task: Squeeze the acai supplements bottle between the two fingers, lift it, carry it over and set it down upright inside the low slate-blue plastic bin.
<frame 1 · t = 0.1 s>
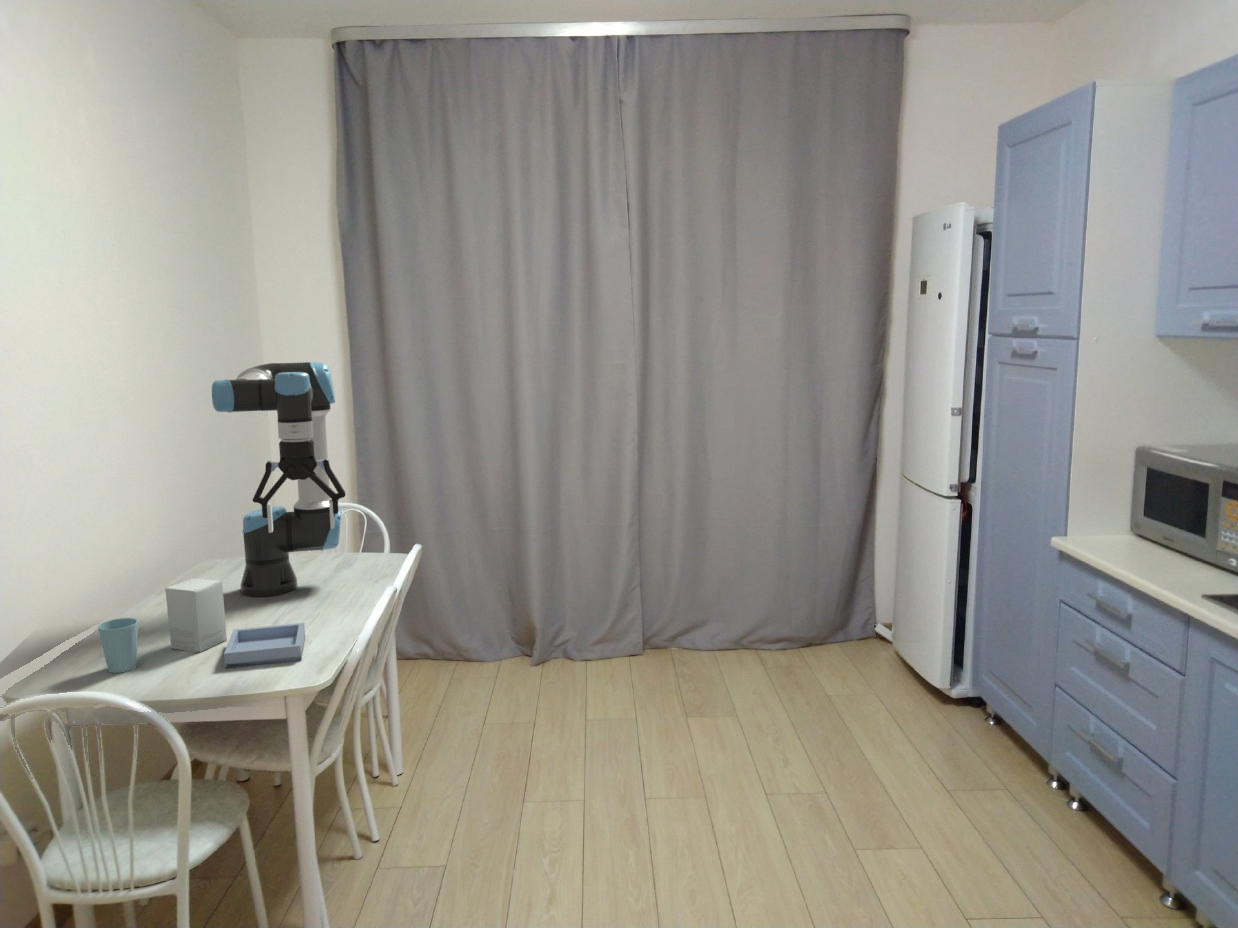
hand: (302, 529, 205), 28 cm above the table, fingers open, 13 cm apart
bin: (267, 651, 204), on the table
cup: (122, 669, 195), on the table
supplement box: (199, 645, 209), on the table
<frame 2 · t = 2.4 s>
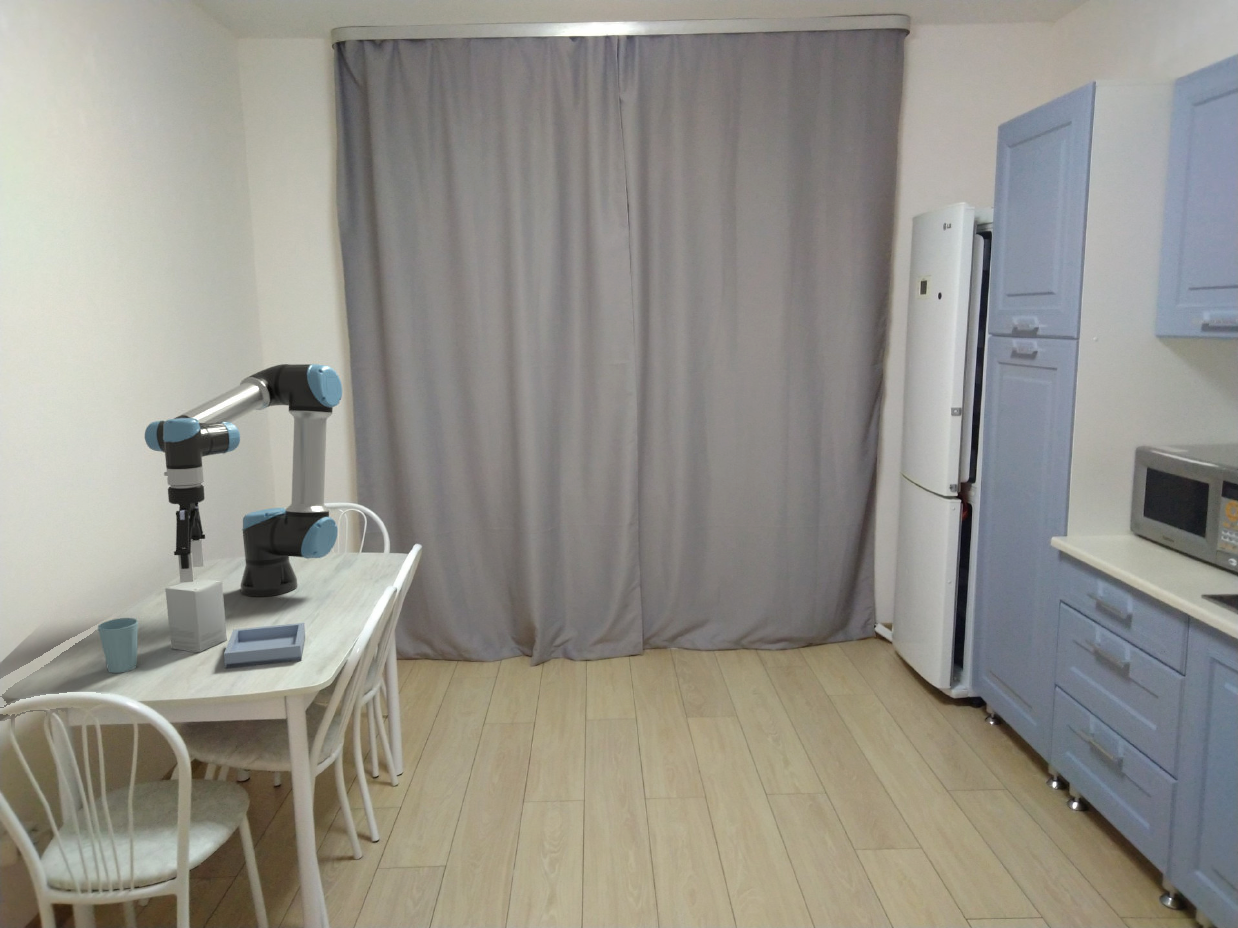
hand: (192, 574, 206), 17 cm above the table, fingers open, 13 cm apart
nothing on the table moved.
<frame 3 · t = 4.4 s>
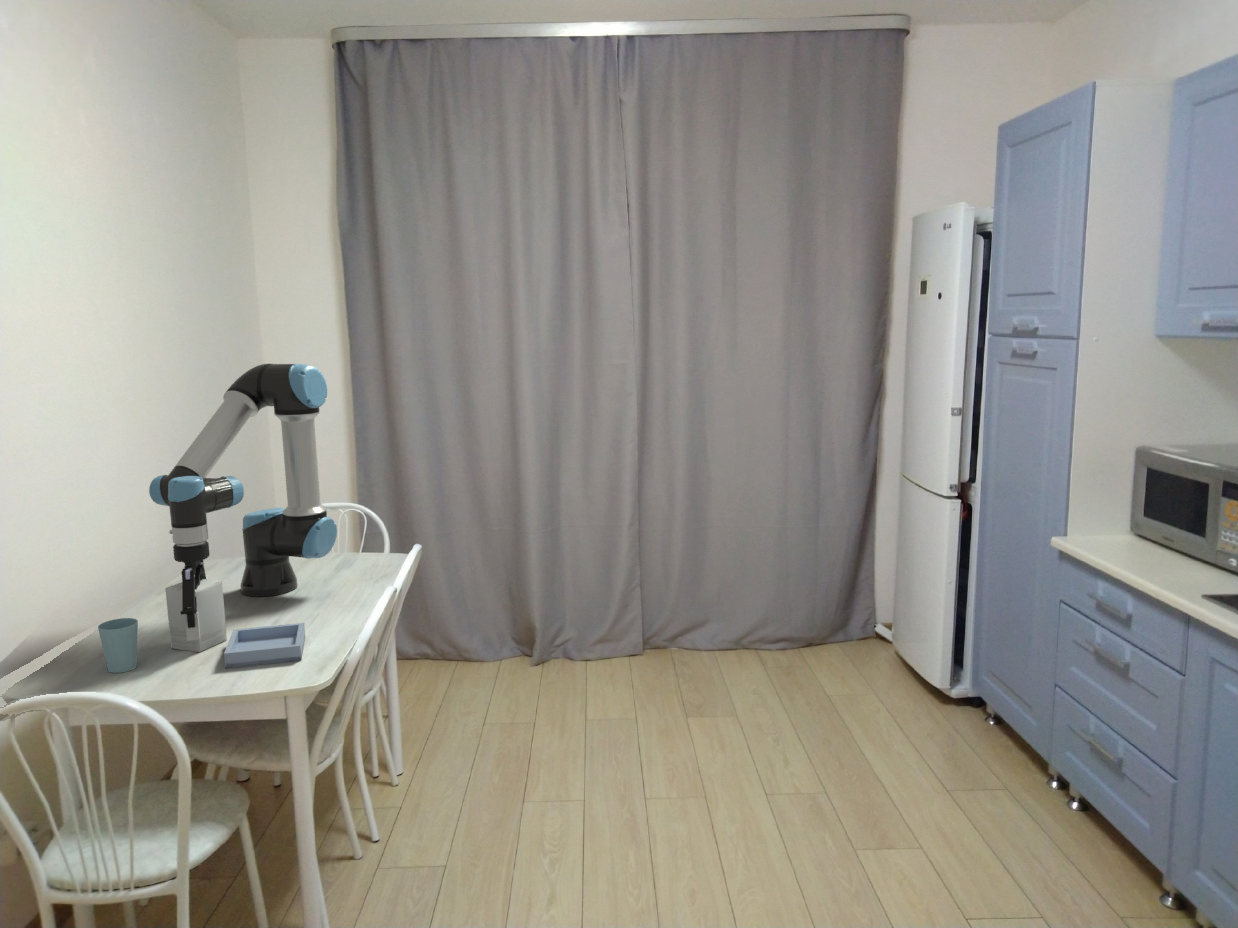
hand: (198, 630, 209), 3 cm above the table, fingers closed on supplement box, 12 cm apart
supplement box: (199, 644, 209), on the table, touching gripper
everything else where it was.
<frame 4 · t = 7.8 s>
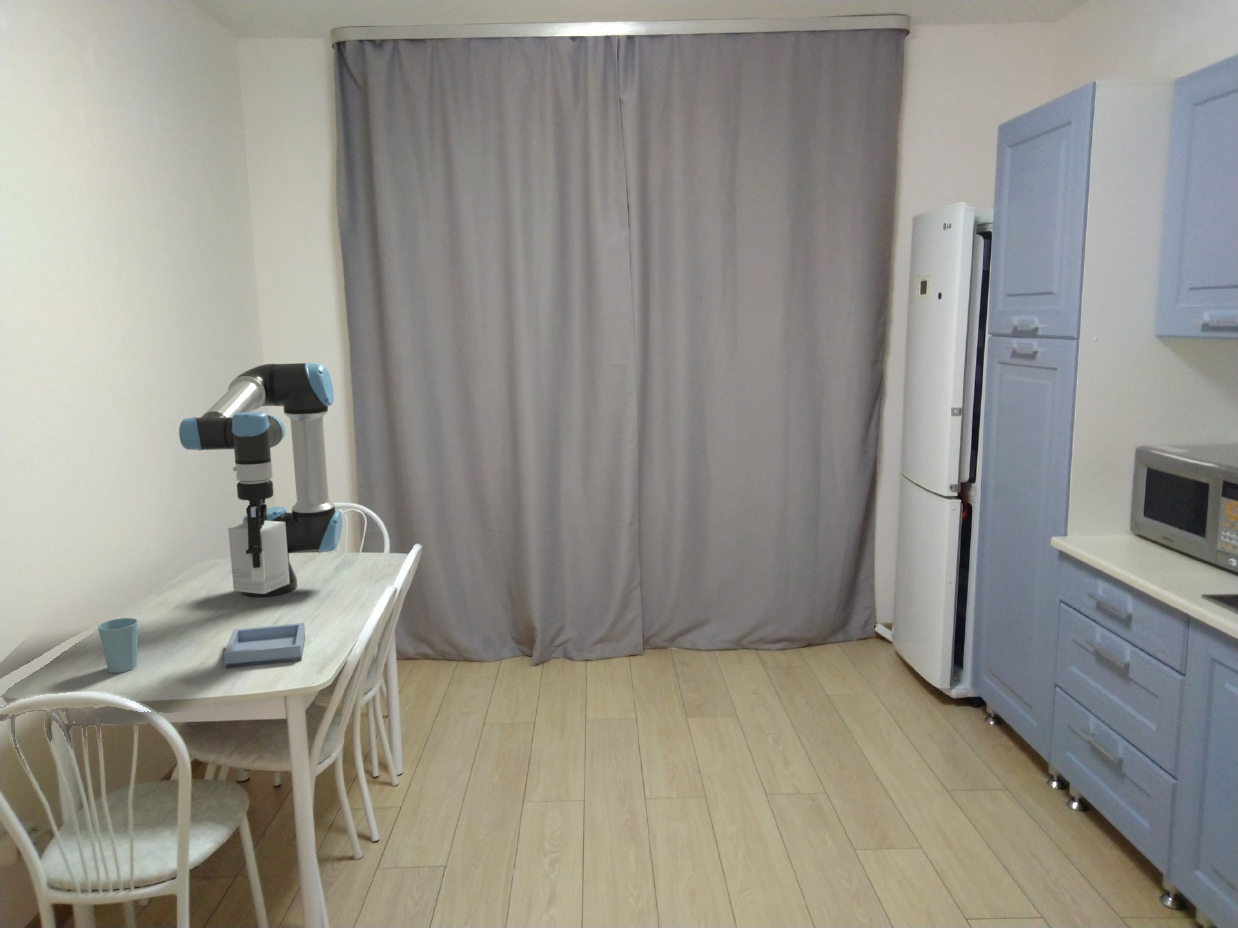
hand: (261, 573, 201), 19 cm above the table, fingers closed on supplement box, 12 cm apart
supplement box: (262, 588, 202), point 15 cm above the table, touching gripper
everything else where it was.
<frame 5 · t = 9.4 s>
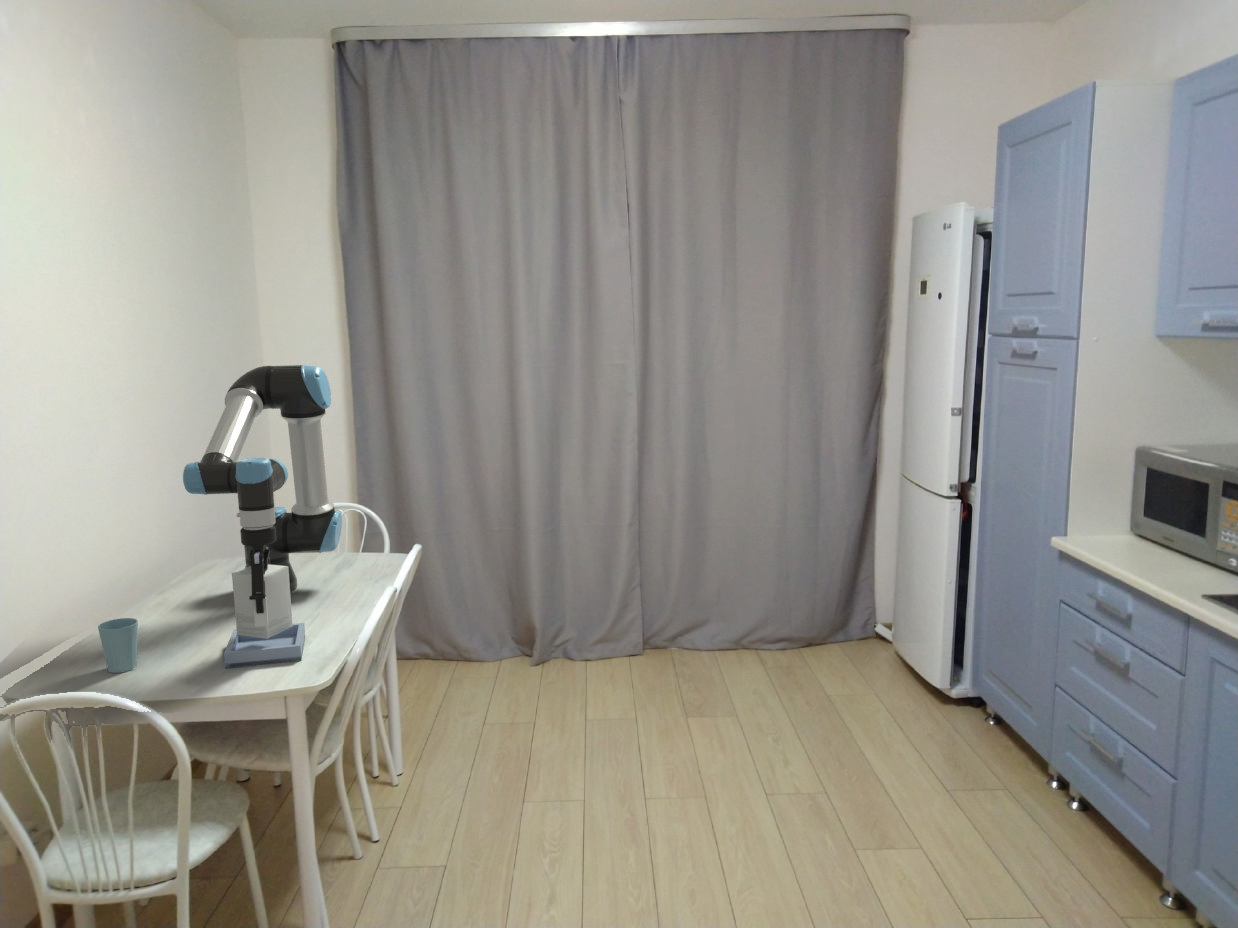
hand: (264, 617, 203), 8 cm above the table, fingers closed on supplement box, 12 cm apart
supplement box: (265, 631, 204), point 5 cm above the table, touching gripper
everything else where it was.
when the fingers open (6 cm above the table, at t = 11.0 s): supplement box drops 2 cm, resting on bin.
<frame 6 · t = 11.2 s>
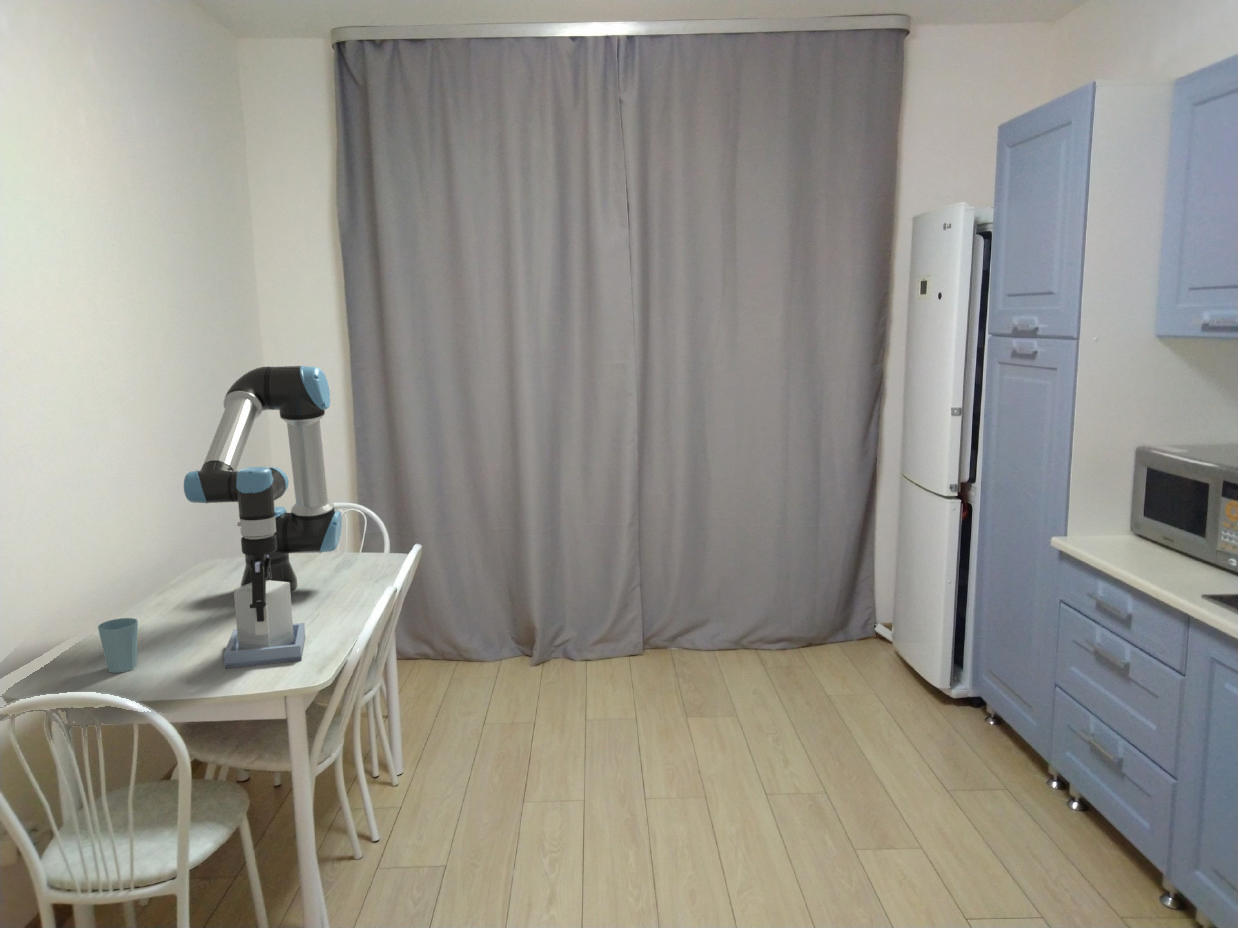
hand: (265, 624, 203), 7 cm above the table, fingers open, 13 cm apart
supplement box: (266, 647, 205), point 1 cm above the table, touching bin, gripper
everything else where it was.
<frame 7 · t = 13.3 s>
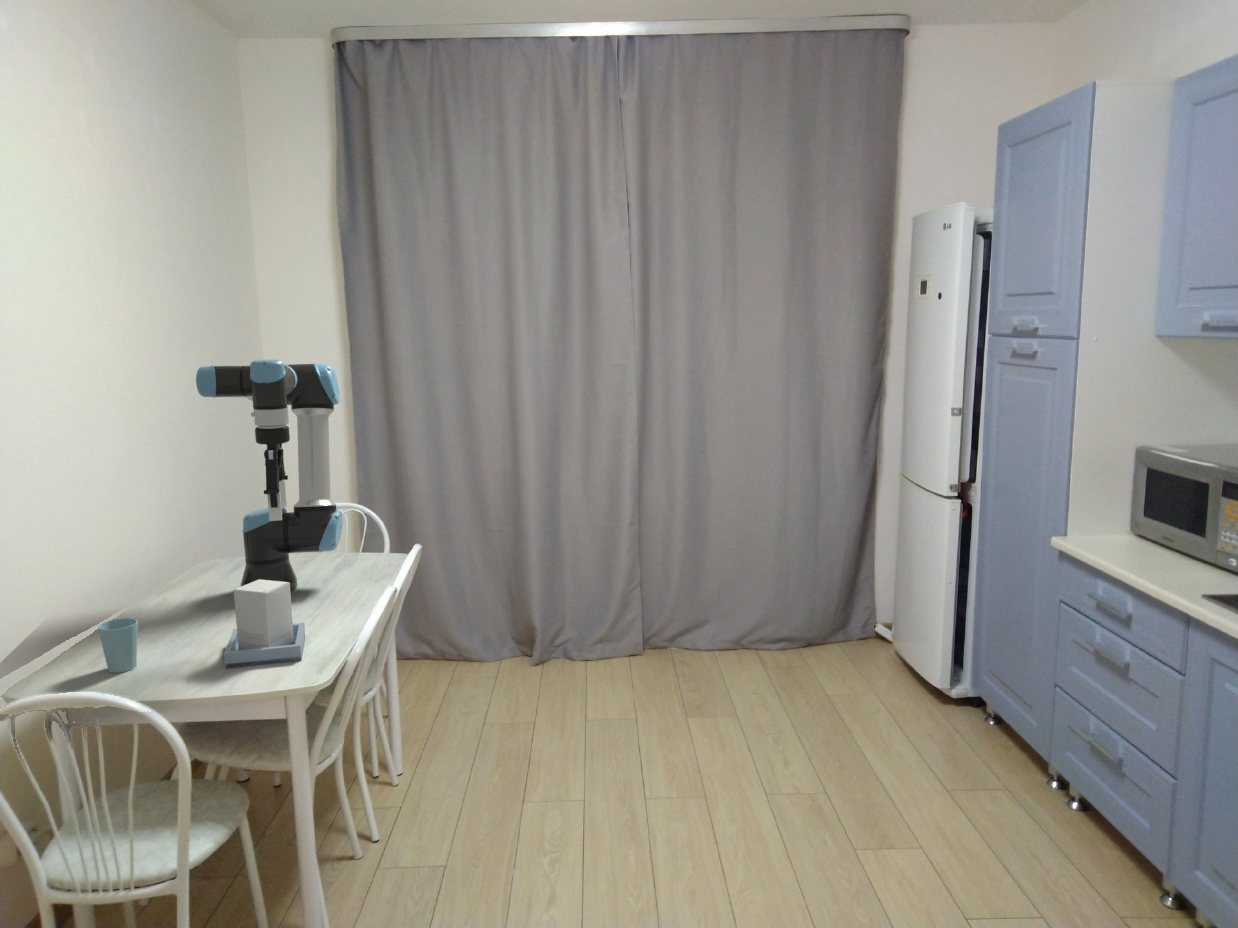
hand: (278, 513, 210), 31 cm above the table, fingers open, 13 cm apart
supplement box: (266, 647, 205), point 1 cm above the table, touching bin
everything else where it was.
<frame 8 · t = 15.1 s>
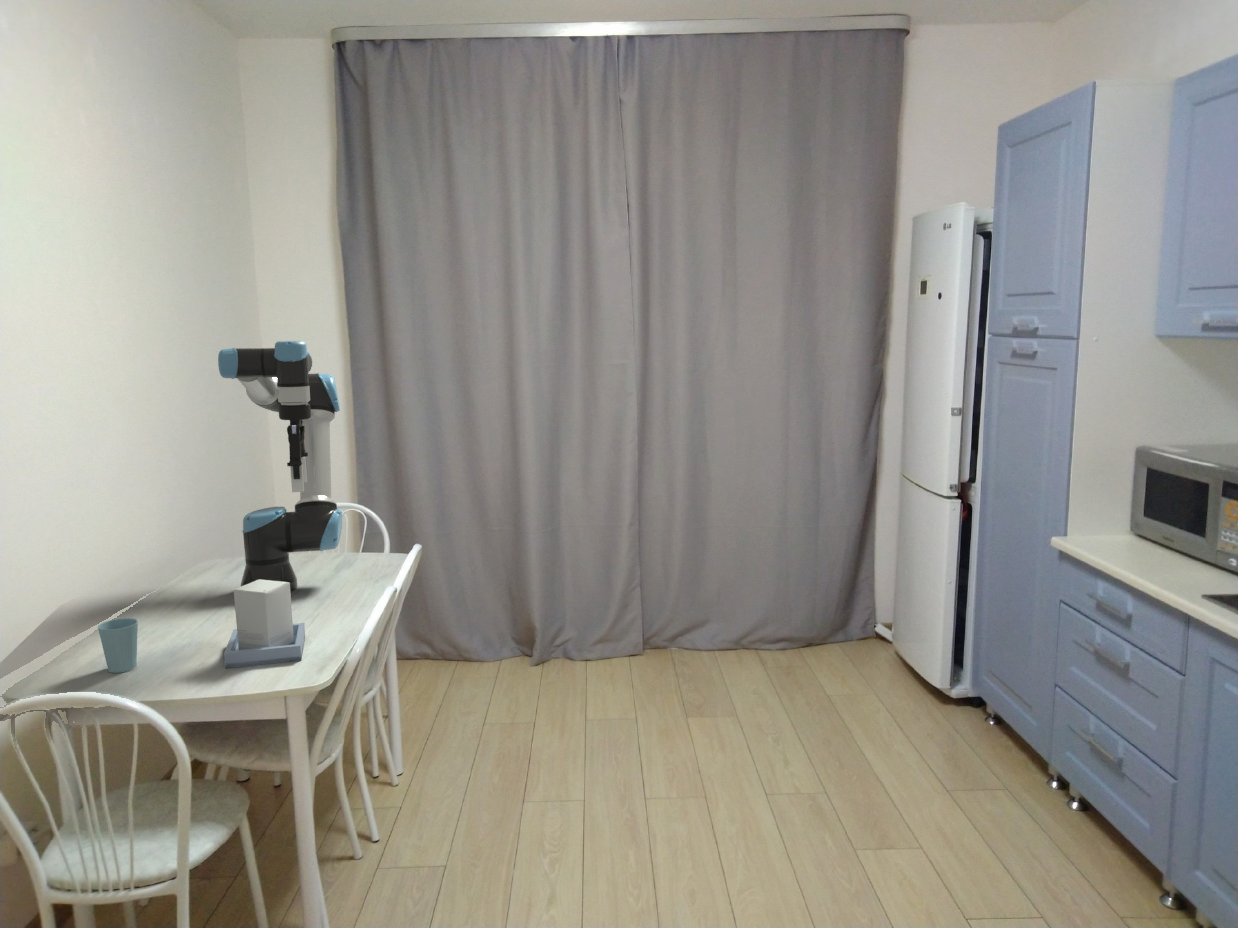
hand: (299, 487, 222), 35 cm above the table, fingers open, 13 cm apart
nothing on the table moved.
at the end: supplement box inside the target area on the bin (0.5 cm from its centre), point 0.8 cm above the bin's base; supplement box tilted 0°; the gripper is holding nothing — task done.
